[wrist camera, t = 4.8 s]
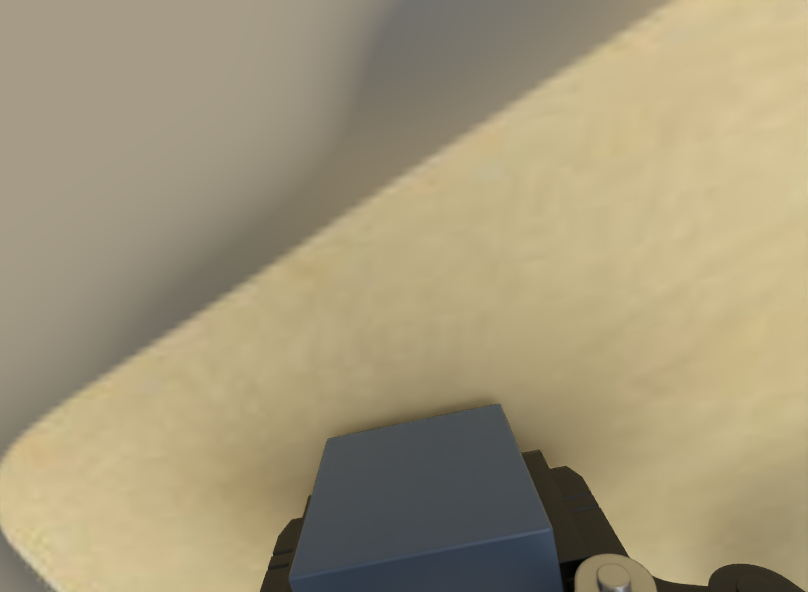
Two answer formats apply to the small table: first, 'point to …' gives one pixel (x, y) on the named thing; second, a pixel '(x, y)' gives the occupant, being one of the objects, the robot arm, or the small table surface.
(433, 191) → the small table surface
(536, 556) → the block
